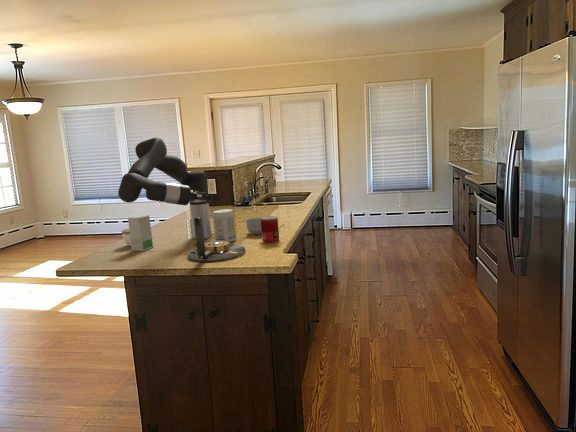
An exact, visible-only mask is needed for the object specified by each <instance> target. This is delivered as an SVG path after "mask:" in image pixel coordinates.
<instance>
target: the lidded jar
mask: <svg viewBox="0 0 576 432" xmlns="http://www.w3.org/2000/svg"><path fill="white" fill-rule="evenodd" d="M121 234H122V239H123V241H124V243H125V244H126V245H128V247H130V246H131V239H130V231H129V228H126V229H123V230H121Z"/></svg>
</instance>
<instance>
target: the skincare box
mask: <svg viewBox="0 0 576 432" xmlns="http://www.w3.org/2000/svg"><path fill="white" fill-rule="evenodd" d="M127 221H128V229H129V231H130V239H131V247H130V248H131V251H132V252H144V251H146V249H147V250H149V248H150V249H152V247H153V248H154V243H153V242H154V241H153V236H152V227H151V219H150V214H145V215H143V214H142V215H135V216H131V217H128V218H127ZM143 250H144V251H143Z"/></svg>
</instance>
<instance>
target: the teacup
mask: <svg viewBox="0 0 576 432" xmlns="http://www.w3.org/2000/svg"><path fill="white" fill-rule="evenodd" d="M262 217H263V216H259V217H257V216H256V217H250V218H246V219H245V220H246V221H245V222H246V229H247V231H248V233H249V234H251V235H262V231H261V218H262Z"/></svg>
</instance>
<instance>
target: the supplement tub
mask: <svg viewBox="0 0 576 432" xmlns="http://www.w3.org/2000/svg"><path fill="white" fill-rule="evenodd" d="M212 214H213V215H212V218H213V219H212V220H213V226H214V237H215V241H216V242H218V241H225V242H226V241H227V242H229V243H233V242H234V241H235V240H236V238H237V237H236V228H235V227H236V226H235V218H234V211H233V209H228V208H225V209H217V210H214V211H213V212H212Z"/></svg>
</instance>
